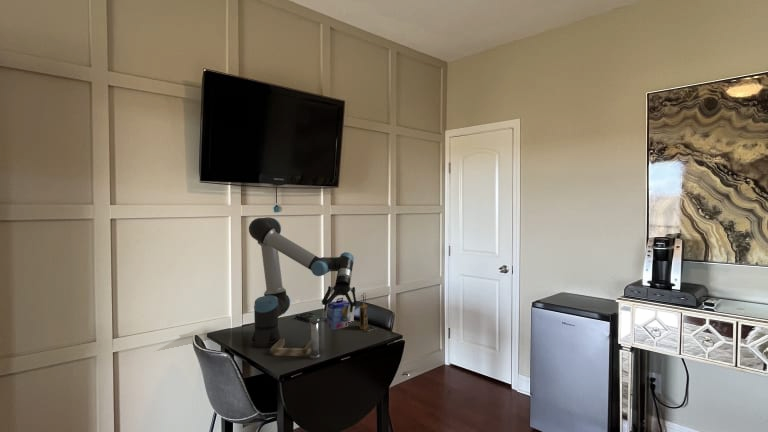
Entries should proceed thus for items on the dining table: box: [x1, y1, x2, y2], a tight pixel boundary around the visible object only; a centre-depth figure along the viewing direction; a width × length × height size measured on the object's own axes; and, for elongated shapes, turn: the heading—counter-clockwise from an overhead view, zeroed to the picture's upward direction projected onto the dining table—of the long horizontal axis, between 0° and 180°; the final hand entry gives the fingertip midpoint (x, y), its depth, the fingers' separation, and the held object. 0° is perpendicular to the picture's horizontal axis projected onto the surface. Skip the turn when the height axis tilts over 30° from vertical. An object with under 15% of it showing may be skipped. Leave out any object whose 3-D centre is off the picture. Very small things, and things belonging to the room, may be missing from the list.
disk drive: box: [294, 312, 324, 323], centre depth 259 cm, size 10×3×15 cm
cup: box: [349, 304, 356, 323], centre depth 253 cm, size 10×10×10 cm
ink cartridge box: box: [326, 297, 349, 331], centre depth 200 cm, size 10×6×14 cm, turn 134°
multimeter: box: [359, 292, 378, 333], centre depth 237 cm, size 15×10×20 cm
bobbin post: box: [308, 317, 321, 360], centre depth 191 cm, size 5×5×18 cm
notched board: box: [269, 337, 311, 357], centre depth 201 cm, size 18×16×3 cm
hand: (337, 317), depth 197 cm, fingers closed on ink cartridge box, 10 cm apart
